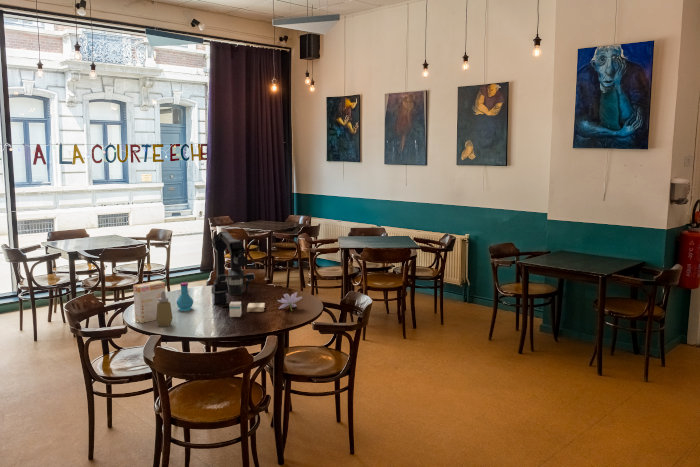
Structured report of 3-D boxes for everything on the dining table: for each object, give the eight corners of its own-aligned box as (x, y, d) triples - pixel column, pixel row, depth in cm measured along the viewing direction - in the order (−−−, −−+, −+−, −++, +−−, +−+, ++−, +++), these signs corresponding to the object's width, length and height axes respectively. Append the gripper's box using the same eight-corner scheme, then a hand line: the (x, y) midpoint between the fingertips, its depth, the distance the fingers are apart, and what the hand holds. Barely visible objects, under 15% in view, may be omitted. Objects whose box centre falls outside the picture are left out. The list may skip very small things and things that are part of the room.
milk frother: (242, 295, 373) (241, 271, 371) (216, 295, 373) (215, 271, 371) (246, 289, 387) (245, 266, 385) (221, 289, 388) (220, 267, 385)
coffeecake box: (161, 315, 330) (159, 280, 327) (167, 317, 325) (165, 282, 322) (134, 320, 319) (132, 284, 316) (140, 323, 314) (138, 286, 311)
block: (247, 312, 335) (247, 307, 335) (248, 308, 344) (248, 303, 344) (263, 312, 336) (263, 307, 335) (264, 308, 345) (264, 302, 344)
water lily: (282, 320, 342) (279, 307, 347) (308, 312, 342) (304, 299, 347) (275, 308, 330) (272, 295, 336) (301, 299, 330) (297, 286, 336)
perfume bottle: (197, 308, 344) (196, 282, 342) (186, 312, 336) (185, 285, 333) (184, 306, 348) (183, 280, 345) (173, 310, 339) (172, 284, 337)
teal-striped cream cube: (229, 317, 326) (229, 304, 325) (231, 314, 331) (230, 301, 330) (240, 316, 326) (240, 304, 325) (241, 313, 332) (241, 301, 331)
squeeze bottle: (158, 323, 314) (156, 289, 312) (174, 323, 315) (172, 289, 312) (154, 328, 306) (153, 293, 304) (171, 327, 307) (169, 292, 304)
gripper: (216, 267, 316) (218, 296, 318) (253, 265, 319) (254, 295, 320) (218, 264, 327) (220, 292, 329) (253, 262, 330) (255, 290, 331)
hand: (237, 292), depth 327 cm, fingers open, 9 cm apart
